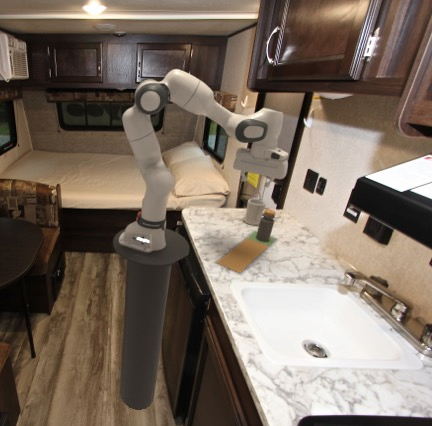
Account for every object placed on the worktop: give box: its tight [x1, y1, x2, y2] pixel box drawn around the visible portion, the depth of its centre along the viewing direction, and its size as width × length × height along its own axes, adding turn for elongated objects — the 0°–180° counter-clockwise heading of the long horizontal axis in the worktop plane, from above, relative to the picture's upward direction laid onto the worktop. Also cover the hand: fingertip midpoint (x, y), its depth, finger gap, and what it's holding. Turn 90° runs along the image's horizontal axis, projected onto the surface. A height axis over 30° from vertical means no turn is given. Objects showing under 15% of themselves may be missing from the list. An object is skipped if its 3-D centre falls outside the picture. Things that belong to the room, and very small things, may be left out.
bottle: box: [256, 208, 277, 242], centre depth 139 cm, size 6×6×15 cm
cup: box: [243, 198, 270, 226], centre depth 157 cm, size 10×9×12 cm
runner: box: [216, 237, 269, 274], centre depth 130 cm, size 31×10×1 cm, turn 134°
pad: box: [247, 231, 277, 247], centre depth 143 cm, size 10×10×1 cm
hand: (254, 183), depth 122 cm, fingers open, 8 cm apart
